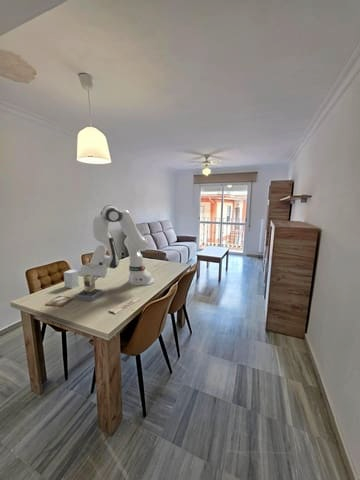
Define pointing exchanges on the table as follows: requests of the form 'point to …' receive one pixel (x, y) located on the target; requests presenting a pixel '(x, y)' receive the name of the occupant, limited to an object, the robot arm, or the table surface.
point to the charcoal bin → (88, 298)
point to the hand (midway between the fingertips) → (88, 282)
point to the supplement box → (71, 278)
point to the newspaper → (124, 305)
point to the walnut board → (60, 301)
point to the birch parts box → (89, 283)
